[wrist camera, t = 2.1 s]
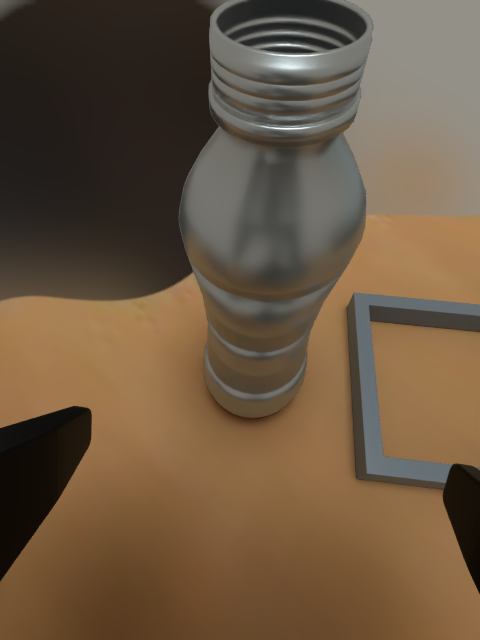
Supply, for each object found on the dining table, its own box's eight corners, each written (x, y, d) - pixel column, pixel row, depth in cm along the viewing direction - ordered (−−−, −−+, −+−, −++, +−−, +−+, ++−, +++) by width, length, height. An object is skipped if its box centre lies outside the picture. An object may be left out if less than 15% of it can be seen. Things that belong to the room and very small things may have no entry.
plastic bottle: (185, 389, 24) (69, 31, 7) (244, 322, 27) (259, -45, 10) (263, 448, 22) (352, 144, 5) (317, 368, 25) (487, 8, 8)
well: (573, 505, 21) (603, 502, 19) (356, 478, 21) (366, 473, 20) (510, 323, 27) (528, 309, 26) (346, 307, 28) (353, 292, 26)
